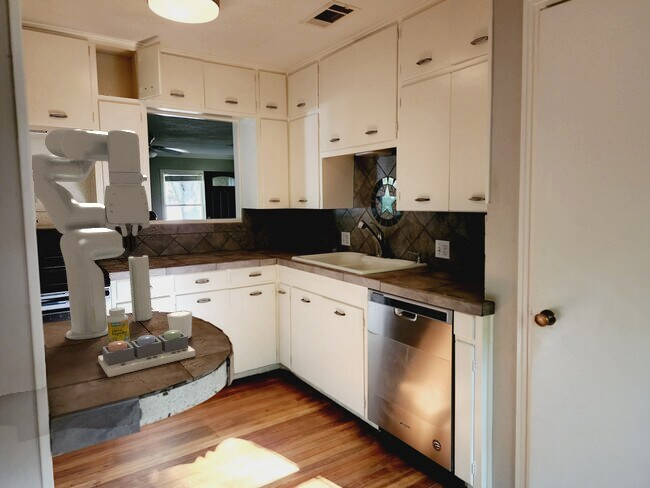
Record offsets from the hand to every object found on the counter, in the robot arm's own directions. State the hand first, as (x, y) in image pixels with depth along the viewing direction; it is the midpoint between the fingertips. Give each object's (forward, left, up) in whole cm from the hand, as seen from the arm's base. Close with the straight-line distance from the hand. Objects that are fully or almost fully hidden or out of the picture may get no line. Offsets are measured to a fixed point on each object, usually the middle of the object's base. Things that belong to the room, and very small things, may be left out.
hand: (129, 250), depth 113 cm
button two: (+10, 0, -24) cm, 26 cm away
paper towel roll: (-30, +9, -27) cm, 41 cm away
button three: (+10, +7, -24) cm, 27 cm away
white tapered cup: (-2, +13, -27) cm, 30 cm away
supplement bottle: (-9, -2, -27) cm, 28 cm away
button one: (+10, -6, -24) cm, 27 cm away
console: (+10, 0, -26) cm, 28 cm away
